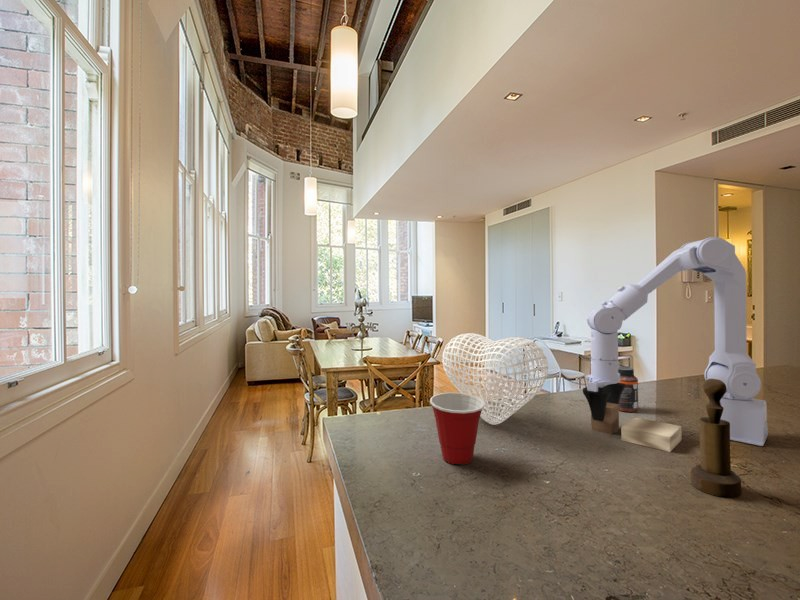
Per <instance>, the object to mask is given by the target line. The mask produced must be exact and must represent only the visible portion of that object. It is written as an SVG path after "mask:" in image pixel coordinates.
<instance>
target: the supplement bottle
mask: <svg viewBox="0 0 800 600" xmlns="http://www.w3.org/2000/svg"><path fill="white" fill-rule="evenodd" d="M618 373H620V381H619V383H624V384H625V385H626V386H625V388H624V390H623V392H622V394H621V396H620V399H619V403H618V404H619V412H627V413H634V412H635V413H636V412H637V411H638V410H639V379H638V378H637V377H636V376H635V375H634V368H632V367H625V366H621V367H619V366H618Z"/></svg>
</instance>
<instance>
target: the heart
mask: <svg viewBox="0 0 800 600" xmlns="http://www.w3.org/2000/svg"><path fill="white" fill-rule="evenodd" d="M471 340H472V341H471ZM468 344H469V345H468ZM473 346H475V347H473ZM465 349H467V350H465ZM522 349H523V350H524V351H523V350H522ZM516 350H517V352H519V353H517V352H516ZM460 351H461V352H460ZM471 351H472V352H471ZM475 352H477V353H475ZM518 356H520V358H521V359H519V357H518ZM469 357H470V358H469ZM505 358H506V359H505ZM514 358H515V360H514ZM441 362H442V367H443V371H444V373H445V375H446V377H447V379H448V380H449V381H450V382H451V384H452V385H453V386H454V388H456V390H458V391H459V392H458V393H465V394H470V395H473V396H476V397H479V398H481V399H482V400H483V401H484V403H485V406H484V408H483V409H482V412H481V414H480V419H482V420H483V421H484V422H485V423H487V424H489V425H493V426H495V425H500V424H502V423H503V422H505V421H506V420H507V419H508V418H510V417H511V416H512V415H513V414H515V413H516V412H517V411H519V409H521V408H522V407H523V406H525V405H526V404H528V403H529V402H530V401H531V400H532V399H533V398H535V397H536V395H538V393H539V392H540V391H541V390H542V388H543V386H544V385H545V383H546V379H547V377H548V374H549V373H548V371H549V364H548V359H547V356H546V354H545V352H544V350H543V349H542V348H541V347H540V345H538V344H537V343H536V342H534V341H532V340H531V339H528V338H525V337H517V336H515V337H514V336H512V337H506V338H501V339H498V340H492V339H491V338H488V337H486V336H484V335H483V334H478V333H472V332H471V333H470V332H469V333H468V332H466V333H465V332H464V333H461V334H459V335H455V336H454V337H452V338H451V340H449V341H448V342H447V343H446V345H445V347H444V349H443V351H442V359H441ZM535 362H536V363H535ZM530 363H531V365H530ZM457 364H458V366H457ZM466 364H468V365H466ZM471 364H472V365H473V366H471ZM476 364H477V366H476ZM510 364H511V365H510ZM497 365H498V366H497ZM530 368H532V369H530ZM487 369H488V371H487ZM501 369H502V370H501ZM510 369H512V372H510ZM516 369H517V371H516ZM525 369H527V370H525ZM491 370H492V371H493V372H492V373H491ZM456 372H457V373H456ZM479 372H480V373H479ZM496 372H497V373H496ZM531 375H532V378H530V376H531ZM535 375H537V376H536V377H535ZM505 376H506V378H505ZM509 376H512V377H511V379H510V377H509ZM520 376H521V378H520ZM526 376H527V379H525V378H526ZM471 377H472V378H471ZM488 377H489V379H488ZM493 377H494V381H493ZM480 378H481V381H480ZM498 379H500V381H498ZM530 382H531V383H530ZM466 383H467V384H466ZM471 383H472V384H473V385H471ZM510 383H511V384H510ZM516 383H517V385H516ZM496 385H497V387H496ZM482 386H483V387H482ZM491 386H492V387H491ZM501 386H503V387H501ZM509 388H510V389H509ZM514 389H516V391H513V390H514ZM520 390H521V392H519V391H520ZM526 390H527V392H526ZM484 391H485V393H484ZM500 391H501V393H502V394H501V393H500ZM489 392H491V393H489ZM494 392H496V393H494ZM525 392H526V393H525ZM499 397H500V398H501V400H500V399H499ZM493 398H494V399H493ZM489 402H490V403H489ZM494 404H495V405H494ZM502 405H503V407H502Z"/></svg>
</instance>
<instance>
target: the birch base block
mask: <svg viewBox="0 0 800 600" xmlns="http://www.w3.org/2000/svg"><path fill="white" fill-rule="evenodd" d="M620 429H621V431H620V432H621V441H623V442H626V443H627V442H628V443H630V444H631V443H632V444H635V445H640V446H644V447H647V448H648V447H649V448H653V449H657V450H660V451H664V452H668V453H671V452H672V451H673V449H675V448H676V446H678V444H679V443H681V441H682V433H683V432H682V426H681V425H677V424H673V423H666V422H662V421H656V420H652V419H645V418H641V417H636V416H634V417H633V418H632V419H629V421H627V422H625V424H622V426H621V428H620Z"/></svg>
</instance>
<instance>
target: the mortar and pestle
mask: <svg viewBox="0 0 800 600" xmlns="http://www.w3.org/2000/svg"><path fill="white" fill-rule="evenodd" d="M702 389H703V391H704V393H705V395H706V396H707V397H708V401H709V402H708V404H706V405H705V411H706V413H707V416H708V417H700V418H699V420H698V421H699V453H700V454H699V457H700V458H699V461H700V463H698V464H697V465H695V466H693V467H691V469H690V482H691V483H690V484H691V485H692V487H694V488H695V489H696V488H697V490H698V491H700V492H702V493H705V494H708V495H711V496H717V497H720V498H721V497H722V498H738V497H740V496H741V495H742V479H741V477H740V476H739V475H737V474H736V473H735V471H733V470H732V468H731V467H732V466H731V465H732V464H731V463H732V462H731V440H730V423H729V422H728V421H725V420H722V419H721V416H722V413H723V407H722V406H721V404H720V400H721V398H722V397H723V396H724V394H725V393H726V390H727V388H726V385H725V383H724V382H723V381H721V380H718V379H707V380H705V381H704V382H703V384H702Z"/></svg>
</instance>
